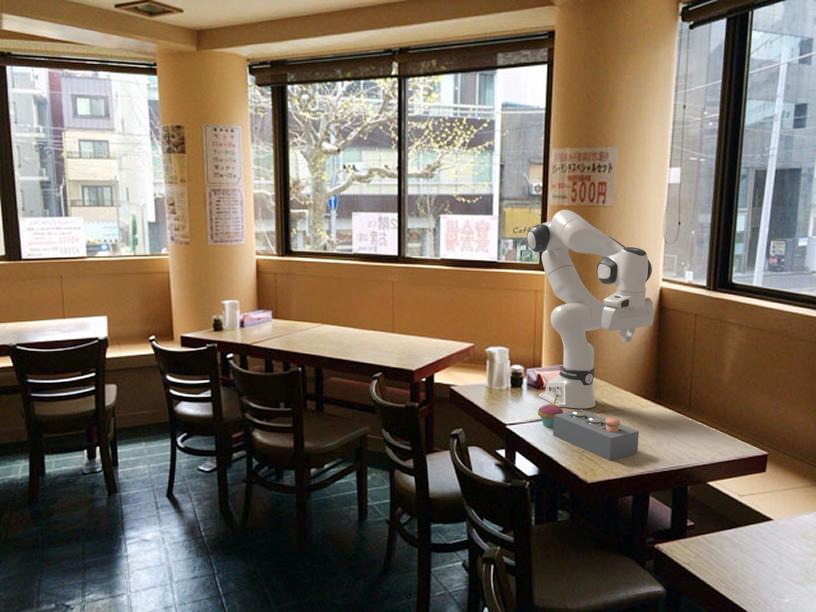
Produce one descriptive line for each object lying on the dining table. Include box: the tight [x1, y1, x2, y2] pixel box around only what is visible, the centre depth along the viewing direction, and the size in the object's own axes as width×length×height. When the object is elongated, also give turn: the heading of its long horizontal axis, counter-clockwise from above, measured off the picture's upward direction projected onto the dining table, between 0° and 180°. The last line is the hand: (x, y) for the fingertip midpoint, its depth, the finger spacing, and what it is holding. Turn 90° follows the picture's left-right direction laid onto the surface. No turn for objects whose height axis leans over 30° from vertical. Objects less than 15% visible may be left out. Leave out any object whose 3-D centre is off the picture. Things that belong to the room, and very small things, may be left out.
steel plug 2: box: [588, 416, 602, 426], centre depth 202 cm, size 4×4×8 cm
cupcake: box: [537, 391, 564, 428], centre depth 219 cm, size 9×8×12 cm
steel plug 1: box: [572, 409, 586, 419], centre depth 208 cm, size 4×4×8 cm
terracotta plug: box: [605, 418, 621, 433], centre depth 196 cm, size 4×4×8 cm
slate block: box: [552, 409, 640, 461], centre depth 202 cm, size 24×12×7 cm, turn 30°
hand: (626, 341), depth 206 cm, fingers closed
